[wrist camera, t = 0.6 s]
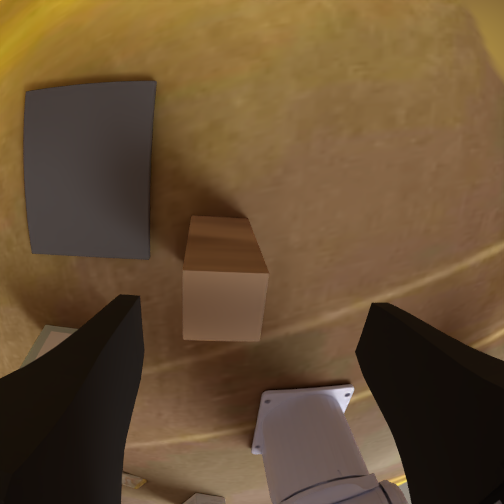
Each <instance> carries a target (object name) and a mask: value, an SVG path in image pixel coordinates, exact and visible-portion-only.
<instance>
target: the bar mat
mask: <svg viewBox="0 0 504 504" xmlns="http://www.w3.org/2000/svg"><path fill="white" fill-rule="evenodd" d="M156 84H157V82H156V81H123V82H104V83H90V84H79V85H70V86H61V87H53V88H46V89H39V90H33V91H27V92H26V96H25V112H24V181H25V197H26V209H27V219H28V228H29V236H30V243H31V250H32V253H33V254H50V255H68V256H86V257H105V258H124V259H145V260H149V258H150V174H151V150H152V133H153V118H154V106H155V95H156Z"/></svg>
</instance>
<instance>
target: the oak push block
mask: <svg viewBox="0 0 504 504" xmlns="http://www.w3.org/2000/svg"><path fill="white" fill-rule="evenodd" d="M268 279H269V272H268V269H267V266H266V264H265V261H264V259H263V256H262V253H261V251H260V248H259V246H258V243H257V240H256V238H255V235H254V233H253V230H252V227H251V225H250V222H249V220H248V218H232V217H214V216H193V215H192V216H191V222H190V228H189V233H188V239H187V245H186V252H185V258H184V264H183V280H182V305H183V340H201V341H260V336H261V329H262V322H263V315H264V308H265V301H266V294H267V287H268Z"/></svg>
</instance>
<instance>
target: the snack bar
mask: <svg viewBox="0 0 504 504" xmlns="http://www.w3.org/2000/svg"><path fill="white" fill-rule="evenodd" d="M146 482H147V480H146V479H142V478H140V477H137V476H135V475H132V474H129V473H126V472H123V471H122V484H123V485H126V486H129V487H132V488H135V489H138V488H139V487H141V486H142V485H143V484H145V483H146Z"/></svg>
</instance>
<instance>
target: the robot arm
mask: <svg viewBox="0 0 504 504" xmlns="http://www.w3.org/2000/svg"><path fill="white" fill-rule="evenodd" d="M355 353H356V356H357V359H358V362H359V365H360V368H361V371H362V374H363V376H364V378H365V381H366V383H367V385H368V387H369V388H370V390H371V392H372V394H373V396H374V398H375V400H376V402H377V404H378V406H379V408H380V410H381V412H382V414H383V416H384V418H385V420H386V422H387V424H388V426H389V428H390V430H391V432H392V435H393V437H394V440H395V443H396V446H397V448H398V451H399V454H400V457H401V461H402V464H403V468H404V472H405V475H406V479H407V483H408V488H409V493H410V498H411V503H412V504H504V361H503V360H500V359H497V358H495V357H492V356H490V355H487V354H485V353H483V352H480V351H478V350H476V349H474V348H471V347H469V346H467V345H465V344H463V343H461V342H460V341H458V340H456V339H454V338H452V337H450V336H448V335H446V334H445V333H443V332H441V331H439V330H438V329H436V328H434V327H432V326H431V325H429V324H427V323H425V322H424V321H422V320H420V319H418V318H417V317H415V316H413V315H411V314H410V313H408V312H406V311H404V310H402V309H400V308H398V307H396V306H394V305H392V304H389V303H371V307H370V310H369V313H368V316H367V319H366V322H365V325H364V328H363V331H362V334H361V337H360V340H359V343H358V345H357V348H356V351H355ZM143 358H144V341H143V330H142V318H141V304H140V296H135V295H122V294H120V295H119V296H117V297H116V298H115V299H114V300H112V301H111V302H110V303H109V304H108V305H107V306H106V307H104V308H103V309H102V310H101V311H100V312H99V313H97V314H96V315H95V316H94V317H93V318H91V319H90V320H89V321H88V322H87V323H85V324H84V325H83V326H82V327H81V328H79V329H78V330H77V331H75V332H74V333H73V334H71V335H70V336H69V337H68V338H66V339H65V340H64V341H62V342H61V343H60V344H58V345H57V346H56V347H54V348H53V349H51V350H50V351H48V352H47V353H45V354H44V355H42V356H41V357H39V358H37V359H36V360H34V361H32V362H31V363H29V364H27V365H26V366H24V367H22V368H20V369H18V370H16V371H14V372H12V373H10V374H8V375H6V376H4V377H2V378H0V504H121V487H122V471H123V459H124V449H125V443H126V438H127V433H128V429H129V425H130V420H131V416H132V412H133V408H134V404H135V400H136V396H137V392H138V388H139V384H140V380H141V373H142V366H143ZM353 392H354V387H353V385H352V384H348V385H339V386H329V387H318V388H305V389H290V390H269V391H265V392H263V393H262V396H261V402H260V407H259V412H258V417H257V423H256V428H255V433H254V438H253V443H252V448H251V451H252V453H253V454H262V457H263V462H264V467H265V472H266V478H267V483H268V488H269V493H270V498H271V501H272V503H273V504H408V502H407V500H406V498H405V497H404V494H403V493H402V491H401V490H400V488H399V487H398V486H397V485H396V484H394V483H391V482H389V481H387V480H383V481H381V482H379V483H378V481H377V479H376V477H375V474H374V473H372V474H369V472H368V470H367V467H366V465H365V462H364V460H363V458H362V455H361V453H360V451H359V448H358V446H357V444H356V441H355V439H354V436H353V434H352V432H351V429H350V427H349V425H348V422H347V420H346V418H345V415H344V412H345V410H346V408H347V405H348V403H349V401H350V399H351V396H352V394H353Z"/></svg>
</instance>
